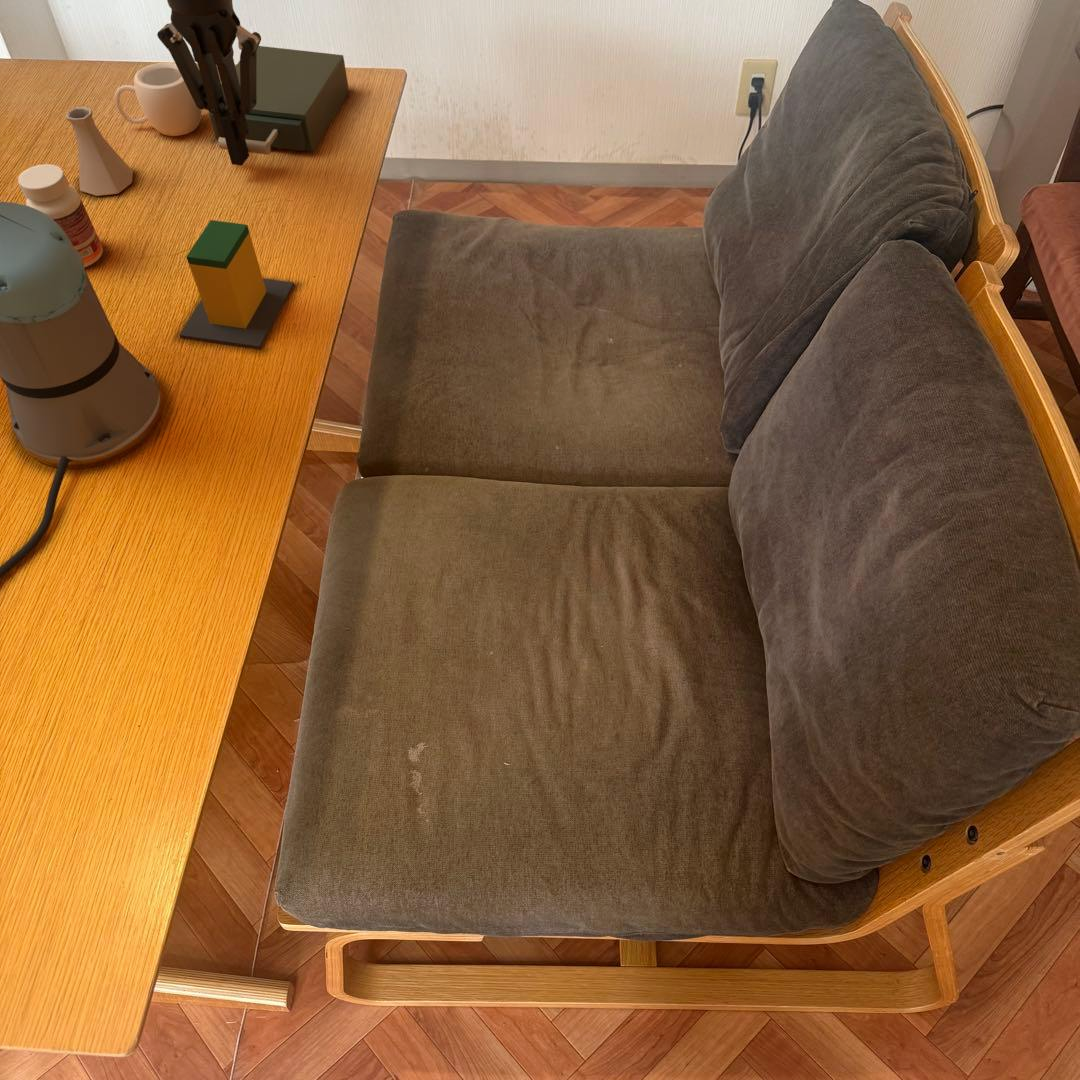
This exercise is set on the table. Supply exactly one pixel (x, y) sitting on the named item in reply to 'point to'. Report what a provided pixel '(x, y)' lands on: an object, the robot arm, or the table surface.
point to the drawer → (269, 133)
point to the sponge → (227, 273)
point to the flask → (97, 157)
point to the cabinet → (299, 88)
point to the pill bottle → (61, 207)
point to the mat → (254, 331)
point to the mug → (162, 100)
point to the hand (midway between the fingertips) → (240, 159)
